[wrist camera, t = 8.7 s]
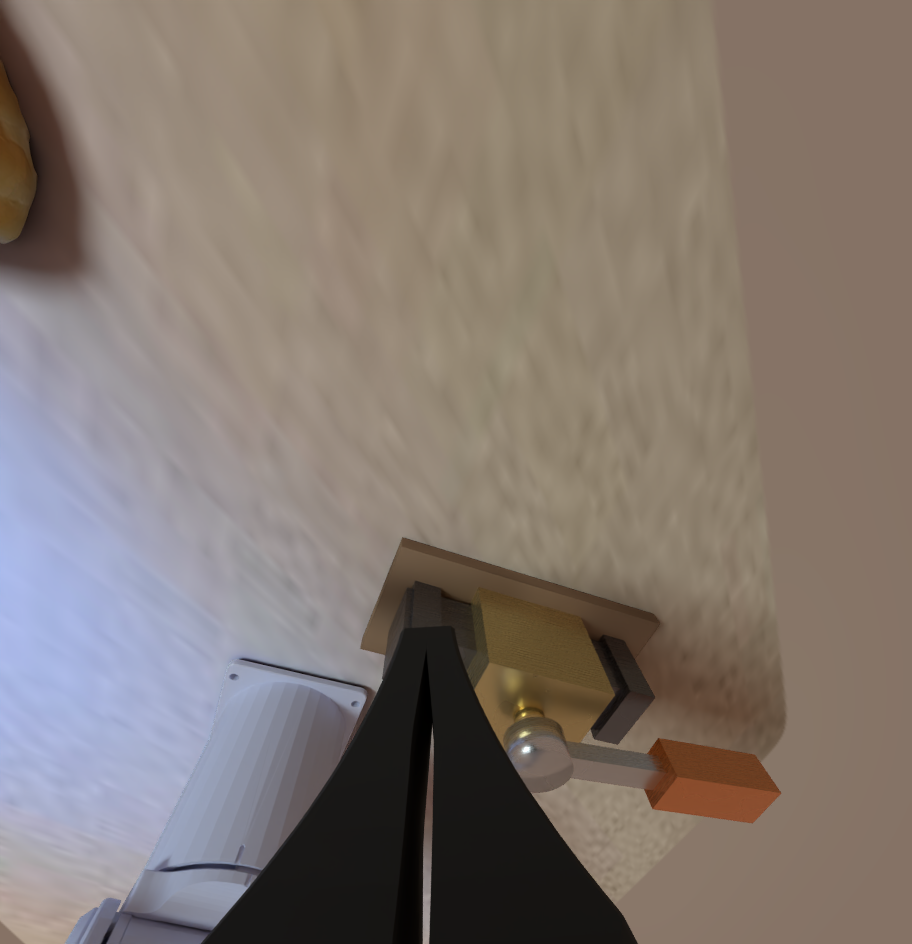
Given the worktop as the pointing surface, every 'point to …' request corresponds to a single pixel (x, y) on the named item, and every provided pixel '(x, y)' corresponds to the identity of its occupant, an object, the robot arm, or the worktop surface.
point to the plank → (468, 574)
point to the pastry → (14, 164)
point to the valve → (533, 662)
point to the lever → (645, 771)
